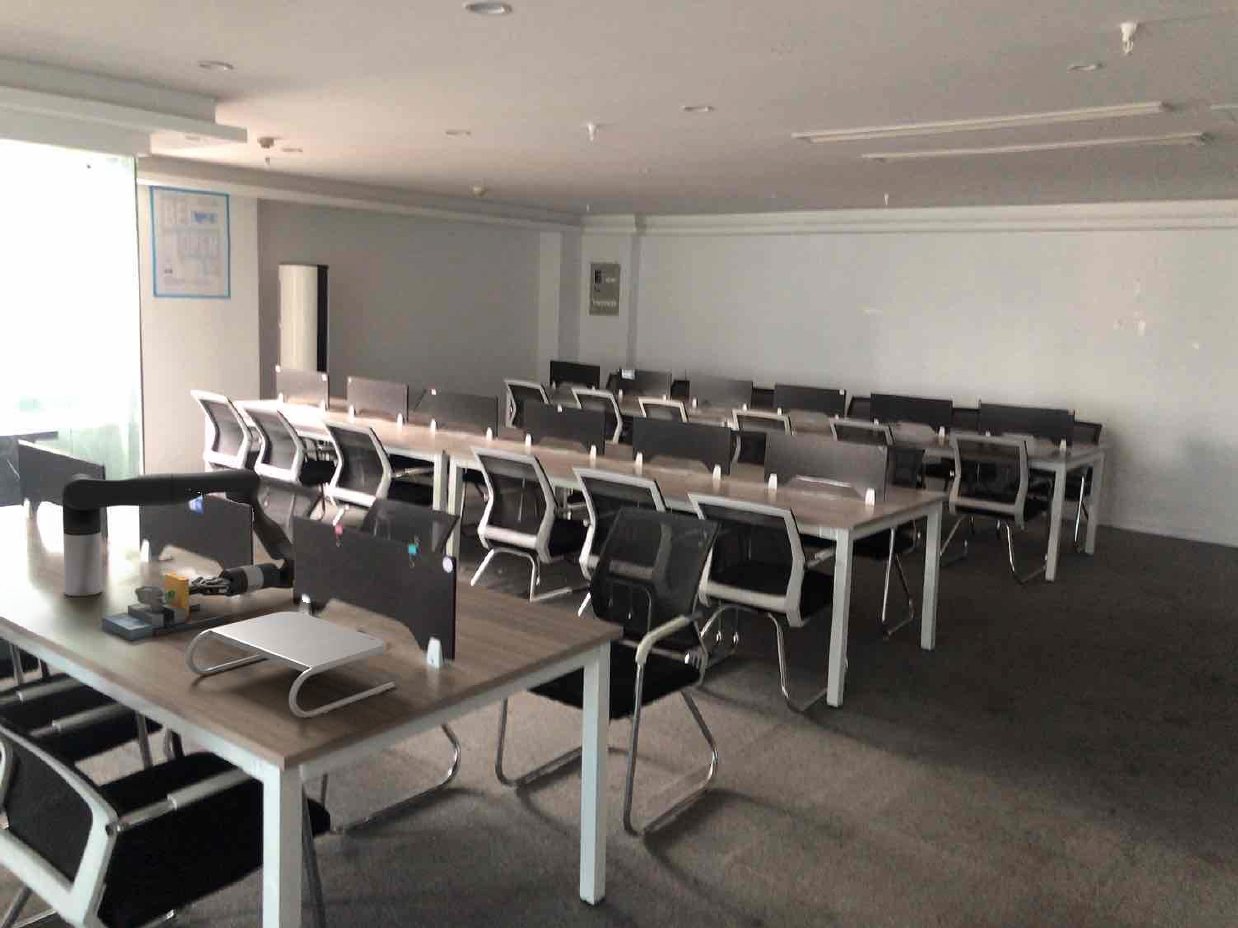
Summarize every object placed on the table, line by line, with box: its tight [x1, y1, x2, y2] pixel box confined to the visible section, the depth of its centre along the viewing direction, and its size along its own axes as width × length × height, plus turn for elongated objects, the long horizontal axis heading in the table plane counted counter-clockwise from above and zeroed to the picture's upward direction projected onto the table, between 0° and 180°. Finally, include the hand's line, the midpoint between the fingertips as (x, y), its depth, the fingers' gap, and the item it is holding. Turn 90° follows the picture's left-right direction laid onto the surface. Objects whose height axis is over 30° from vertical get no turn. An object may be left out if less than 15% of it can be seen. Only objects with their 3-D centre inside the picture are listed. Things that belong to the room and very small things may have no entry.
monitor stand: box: [185, 611, 396, 719], centre depth 220 cm, size 37×28×11 cm
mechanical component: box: [134, 585, 175, 613], centre depth 253 cm, size 3×10×10 cm, turn 78°
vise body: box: [101, 602, 231, 643], centre depth 255 cm, size 16×26×5 cm, turn 143°
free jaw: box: [149, 572, 190, 628], centre depth 256 cm, size 12×5×12 cm, turn 53°
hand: (181, 591), depth 257 cm, fingers closed
